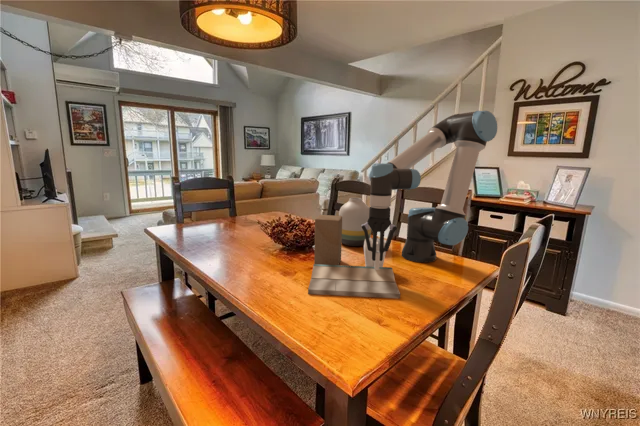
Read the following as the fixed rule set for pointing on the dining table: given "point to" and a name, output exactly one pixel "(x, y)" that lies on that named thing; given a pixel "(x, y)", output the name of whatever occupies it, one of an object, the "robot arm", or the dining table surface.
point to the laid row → (353, 288)
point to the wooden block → (328, 240)
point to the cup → (368, 254)
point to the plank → (352, 273)
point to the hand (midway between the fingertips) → (376, 268)
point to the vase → (354, 222)
